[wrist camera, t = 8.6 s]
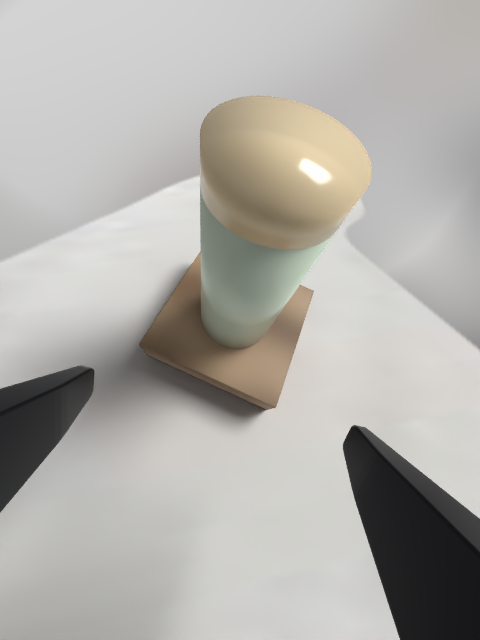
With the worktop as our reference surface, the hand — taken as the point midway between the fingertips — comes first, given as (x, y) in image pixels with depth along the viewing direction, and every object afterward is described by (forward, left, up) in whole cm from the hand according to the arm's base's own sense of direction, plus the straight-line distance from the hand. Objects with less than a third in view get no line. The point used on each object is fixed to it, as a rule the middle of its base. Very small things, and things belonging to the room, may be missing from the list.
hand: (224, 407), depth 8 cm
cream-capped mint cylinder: (+7, +2, -7) cm, 10 cm away
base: (+7, +2, -10) cm, 12 cm away
